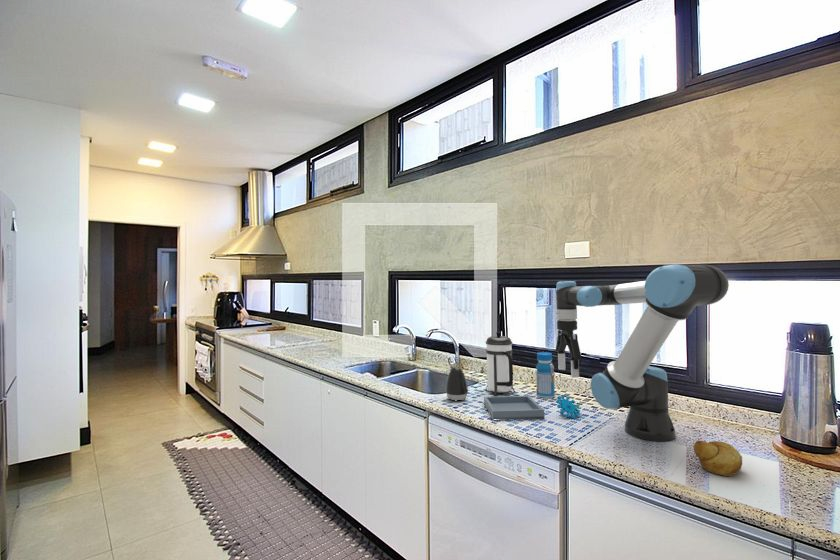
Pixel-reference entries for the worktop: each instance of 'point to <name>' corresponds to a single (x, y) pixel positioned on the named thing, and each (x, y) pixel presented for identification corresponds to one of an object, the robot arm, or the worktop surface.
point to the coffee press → (499, 364)
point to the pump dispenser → (456, 384)
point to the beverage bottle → (545, 375)
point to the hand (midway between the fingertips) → (568, 373)
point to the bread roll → (718, 457)
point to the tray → (513, 407)
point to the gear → (568, 406)
